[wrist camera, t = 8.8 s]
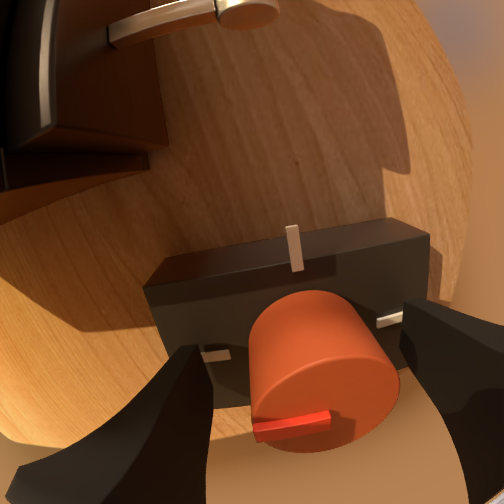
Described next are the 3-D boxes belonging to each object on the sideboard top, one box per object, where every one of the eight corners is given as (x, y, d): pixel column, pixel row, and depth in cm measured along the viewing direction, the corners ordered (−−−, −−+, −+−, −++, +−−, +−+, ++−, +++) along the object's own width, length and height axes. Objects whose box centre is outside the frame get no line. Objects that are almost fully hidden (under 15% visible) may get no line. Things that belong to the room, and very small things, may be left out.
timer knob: (359, 278, 9) (417, 342, 5) (357, 367, 10) (393, 439, 6) (237, 301, 9) (236, 386, 5) (258, 389, 10) (265, 470, 6)
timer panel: (390, 192, 11) (432, 203, 8) (388, 346, 13) (414, 382, 10) (158, 233, 11) (130, 257, 8) (206, 382, 14) (200, 428, 11)
